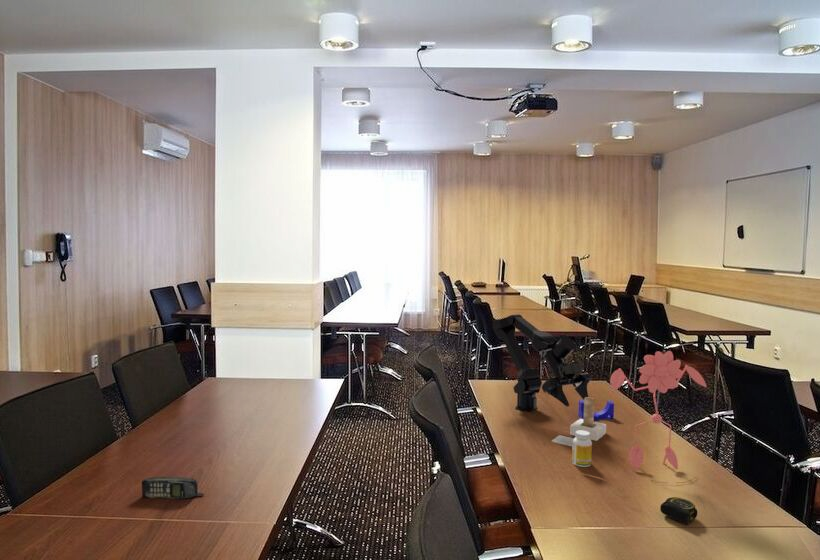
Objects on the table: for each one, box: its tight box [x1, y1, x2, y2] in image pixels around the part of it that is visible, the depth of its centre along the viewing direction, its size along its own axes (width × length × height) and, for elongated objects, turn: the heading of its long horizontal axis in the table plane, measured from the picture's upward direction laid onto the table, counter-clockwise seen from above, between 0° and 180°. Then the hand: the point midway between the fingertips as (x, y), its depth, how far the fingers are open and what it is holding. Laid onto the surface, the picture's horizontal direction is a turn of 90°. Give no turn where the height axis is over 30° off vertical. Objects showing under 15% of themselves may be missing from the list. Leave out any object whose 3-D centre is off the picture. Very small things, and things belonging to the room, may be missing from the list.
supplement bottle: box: [571, 430, 593, 468], centre depth 158 cm, size 5×5×10 cm
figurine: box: [609, 350, 707, 484], centre depth 152 cm, size 15×26×35 cm, turn 89°
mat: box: [550, 434, 574, 448], centre depth 176 cm, size 8×7×1 cm
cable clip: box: [578, 400, 615, 421], centre depth 200 cm, size 12×4×6 cm, turn 89°
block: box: [569, 418, 607, 442], centre depth 183 cm, size 9×9×4 cm
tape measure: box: [659, 496, 698, 525], centre depth 129 cm, size 7×7×4 cm
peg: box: [583, 396, 595, 428], centre depth 182 cm, size 3×3×12 cm
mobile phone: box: [141, 476, 205, 500], centre depth 136 cm, size 5×3×15 cm
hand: (578, 404), depth 186 cm, fingers open, 9 cm apart
